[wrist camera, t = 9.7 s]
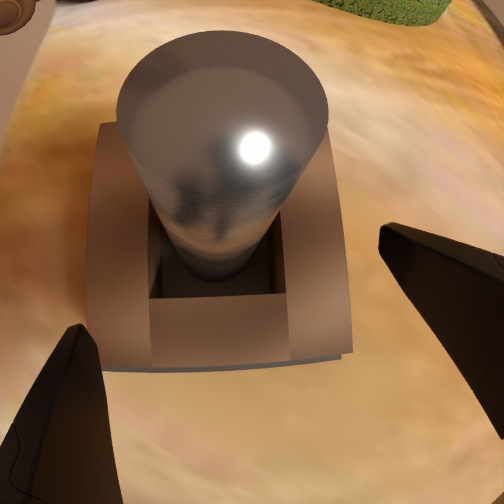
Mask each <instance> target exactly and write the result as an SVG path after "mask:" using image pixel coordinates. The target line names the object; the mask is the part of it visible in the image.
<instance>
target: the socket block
mask: <svg viewBox="0 0 504 504" xmlns="http://www.w3.org/2000/svg"><path fill="white" fill-rule="evenodd" d="M86 313H87V331H88V332H89V334H90V335H91V337H92V338H93V339H94V341H95V342H96V344H97V347H98V351H99V357H100V364H101V369H102V371H111V372H146V373H177V372H212V371H232V370H247V369H260V368H272V367H282V366H292V365H301V364H309V363H317V362H324V361H332V360H339V359H341V354H346V353H352V352H353V344H352V324H351V308H350V294H349V281H348V270H347V260H346V250H345V241H344V232H343V224H342V216H341V208H340V201H339V194H338V187H337V180H336V174H335V168H334V162H333V156H332V150H331V144H330V139H329V133H328V128H327V130H326V133H325V135H324V138H323V141H322V142H321V144H320V146H319V147H318V149H317V151H316V152H315V154H314V156H313V157H312V159H311V160H310V162H309V164H308V165H307V167H306V168H305V170H304V172H303V173H302V175H301V177H300V178H299V180H298V181H297V183H296V185H295V186H294V188H293V189H292V191H291V193H290V194H289V196H288V197H287V199H286V201H285V202H284V204H283V205H282V207H281V209H280V210H279V212H278V213H277V215H276V217H275V218H274V220H273V221H272V223H271V225H270V226H269V228H268V229H267V231H266V233H265V234H264V236H263V237H262V239H261V241H260V242H259V244H258V245H257V247H256V249H255V250H254V252H253V254H252V255H251V257H250V258H249V260H248V262H247V263H246V265H245V266H244V268H243V269H242V270H241V272H239V273H238V274H237V275H236V276H235V277H233V278H231V279H229V280H227V281H224V282H219V283H210V282H205V281H202V280H199V279H197V278H196V277H194V276H193V275H191V274H190V273H189V272H188V271H187V270H186V268H185V267H184V265H183V263H182V261H181V260H180V258H179V256H178V254H177V252H176V250H175V248H174V246H173V244H172V242H171V240H170V238H169V236H168V234H167V232H166V230H165V228H164V226H163V224H162V222H161V220H160V218H159V216H158V214H157V212H156V210H155V208H154V206H153V204H152V202H151V200H150V198H149V196H148V194H147V191H146V189H145V187H144V185H143V183H142V181H141V179H140V177H139V174H138V172H137V170H136V168H135V166H134V164H133V161H132V159H131V157H130V155H129V153H128V150H127V148H126V146H125V144H124V141H123V139H122V137H121V134H120V132H119V128H118V124H117V122H110V123H102V124H100V128H99V134H98V140H97V146H96V152H95V159H94V166H93V174H92V183H91V192H90V203H89V215H88V229H87V250H86Z"/></svg>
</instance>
